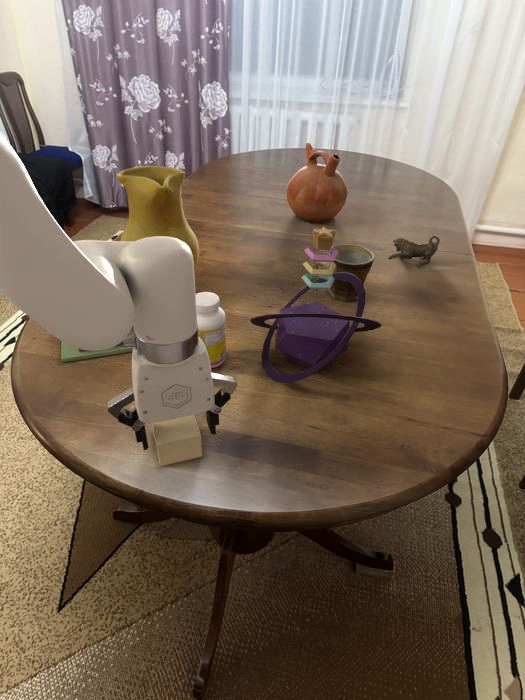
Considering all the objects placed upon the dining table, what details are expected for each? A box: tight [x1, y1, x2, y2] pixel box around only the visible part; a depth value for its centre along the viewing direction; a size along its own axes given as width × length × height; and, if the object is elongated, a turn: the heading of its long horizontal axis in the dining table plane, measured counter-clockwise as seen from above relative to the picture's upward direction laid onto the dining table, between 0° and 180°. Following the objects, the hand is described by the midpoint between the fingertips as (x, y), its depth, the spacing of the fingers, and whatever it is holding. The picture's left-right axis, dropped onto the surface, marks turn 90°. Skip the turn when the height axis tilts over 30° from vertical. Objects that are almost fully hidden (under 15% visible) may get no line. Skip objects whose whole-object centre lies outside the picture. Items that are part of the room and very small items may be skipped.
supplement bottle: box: [196, 291, 227, 369], centre depth 81 cm, size 7×7×13 cm
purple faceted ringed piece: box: [249, 226, 382, 384], centre depth 79 cm, size 22×21×25 cm
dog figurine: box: [387, 235, 441, 268], centre depth 119 cm, size 12×6×7 cm, turn 82°
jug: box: [286, 142, 348, 224], centre depth 138 cm, size 18×18×20 cm
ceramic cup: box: [315, 243, 375, 302], centre depth 103 cm, size 13×10×10 cm
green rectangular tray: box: [60, 326, 134, 363], centre depth 89 cm, size 16×12×3 cm
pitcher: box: [116, 165, 200, 271], centre depth 100 cm, size 17×19×25 cm
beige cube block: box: [151, 414, 203, 467], centre depth 67 cm, size 6×6×4 cm
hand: (178, 435), depth 67 cm, fingers open, 9 cm apart
